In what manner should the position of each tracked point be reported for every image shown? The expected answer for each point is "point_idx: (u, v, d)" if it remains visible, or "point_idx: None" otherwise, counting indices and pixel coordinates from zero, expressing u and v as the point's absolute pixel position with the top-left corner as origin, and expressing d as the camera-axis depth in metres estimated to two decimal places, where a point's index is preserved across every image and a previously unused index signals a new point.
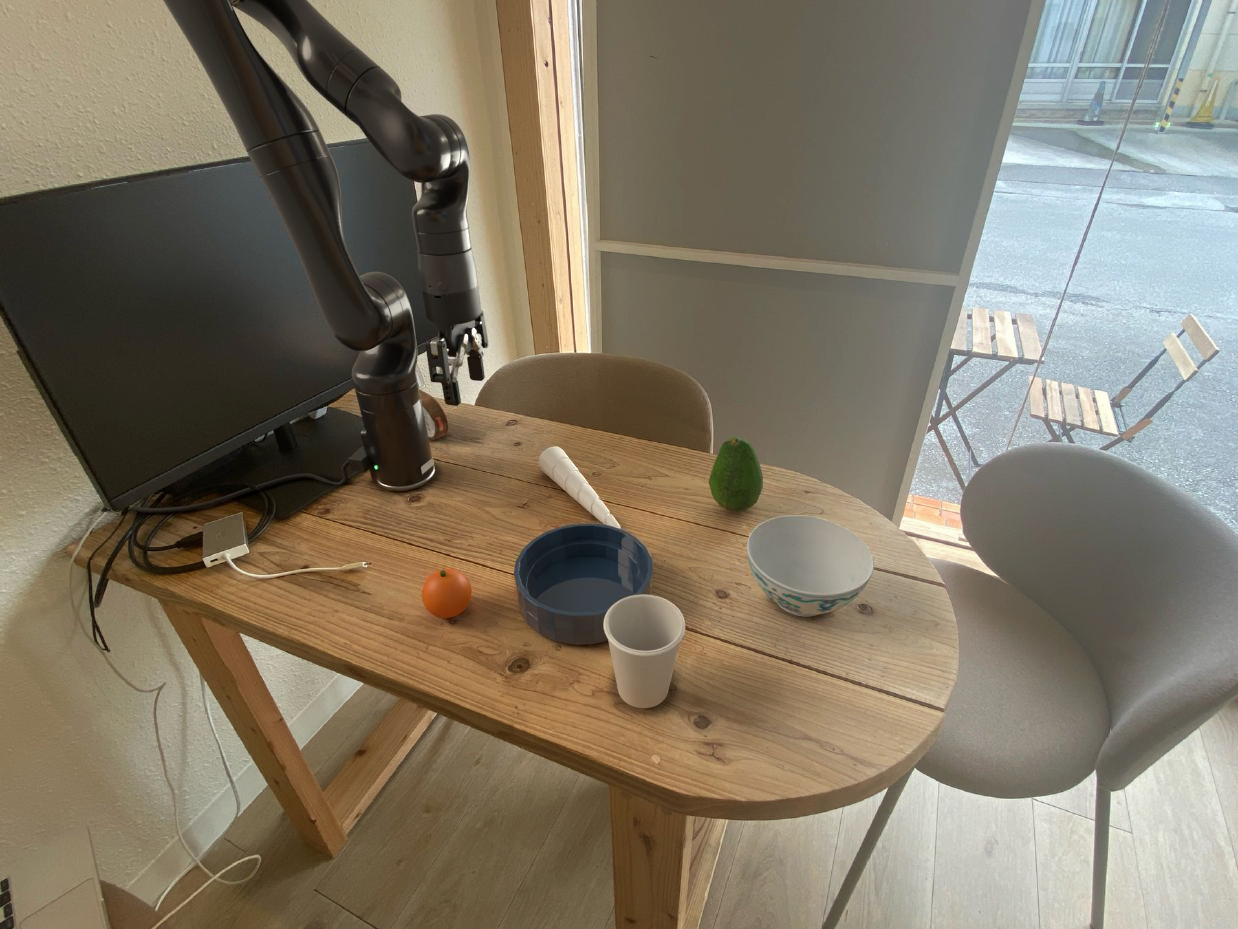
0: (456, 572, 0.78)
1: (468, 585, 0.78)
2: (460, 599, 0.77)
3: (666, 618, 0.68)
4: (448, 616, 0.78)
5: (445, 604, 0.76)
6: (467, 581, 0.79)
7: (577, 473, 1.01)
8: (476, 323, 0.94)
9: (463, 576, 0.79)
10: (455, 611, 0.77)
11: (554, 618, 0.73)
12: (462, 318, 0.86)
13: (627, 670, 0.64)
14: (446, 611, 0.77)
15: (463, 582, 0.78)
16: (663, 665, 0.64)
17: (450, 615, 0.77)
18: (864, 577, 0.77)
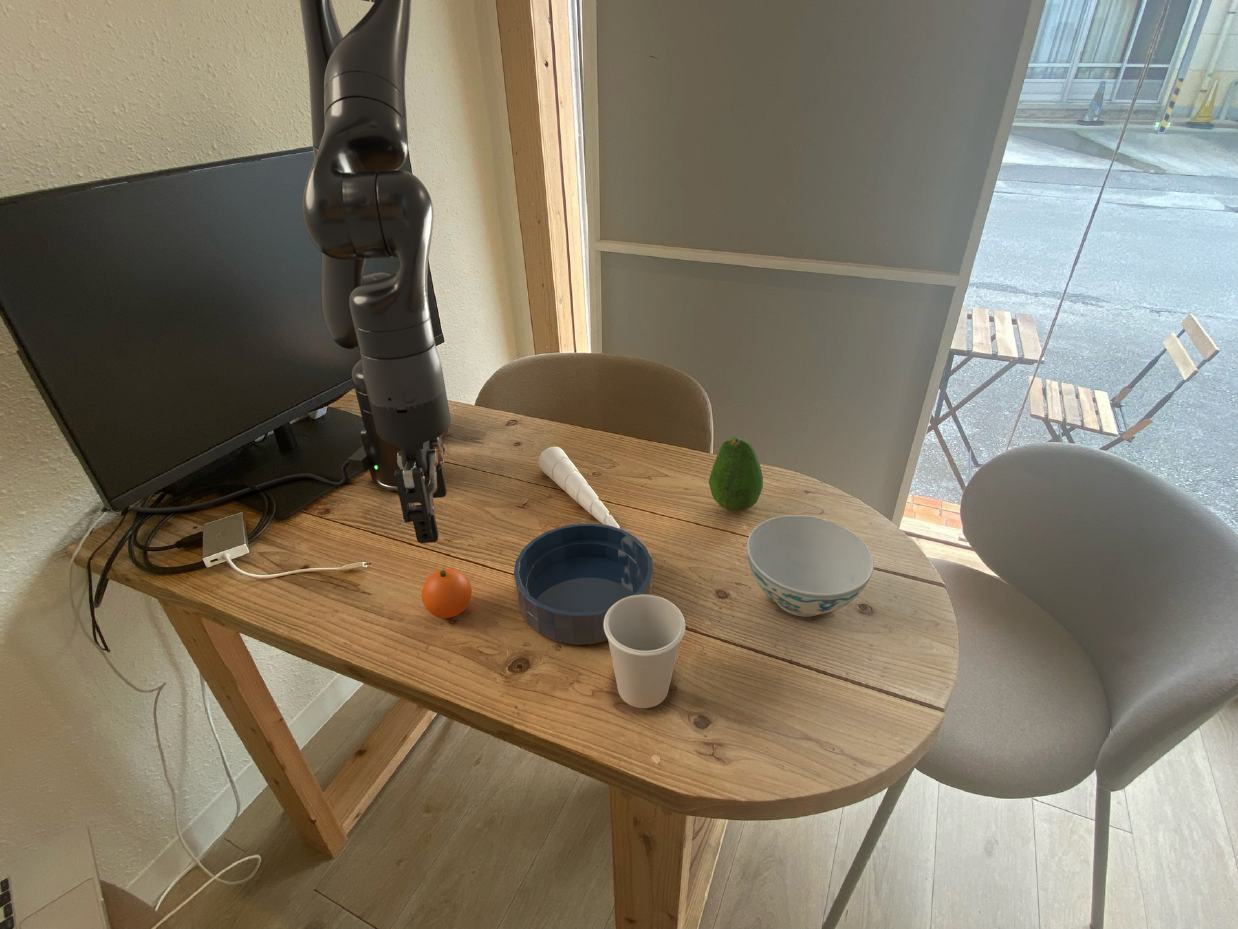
0: (456, 572, 0.78)
1: (468, 585, 0.78)
2: (460, 599, 0.77)
3: (666, 618, 0.68)
4: (448, 616, 0.78)
5: (445, 604, 0.76)
6: (467, 581, 0.79)
7: (577, 473, 1.01)
8: None
9: (463, 576, 0.79)
10: (455, 611, 0.77)
11: (554, 618, 0.73)
12: (435, 432, 0.64)
13: (627, 670, 0.64)
14: (446, 611, 0.77)
15: (463, 582, 0.78)
16: (663, 665, 0.64)
17: (450, 615, 0.77)
18: (864, 577, 0.77)
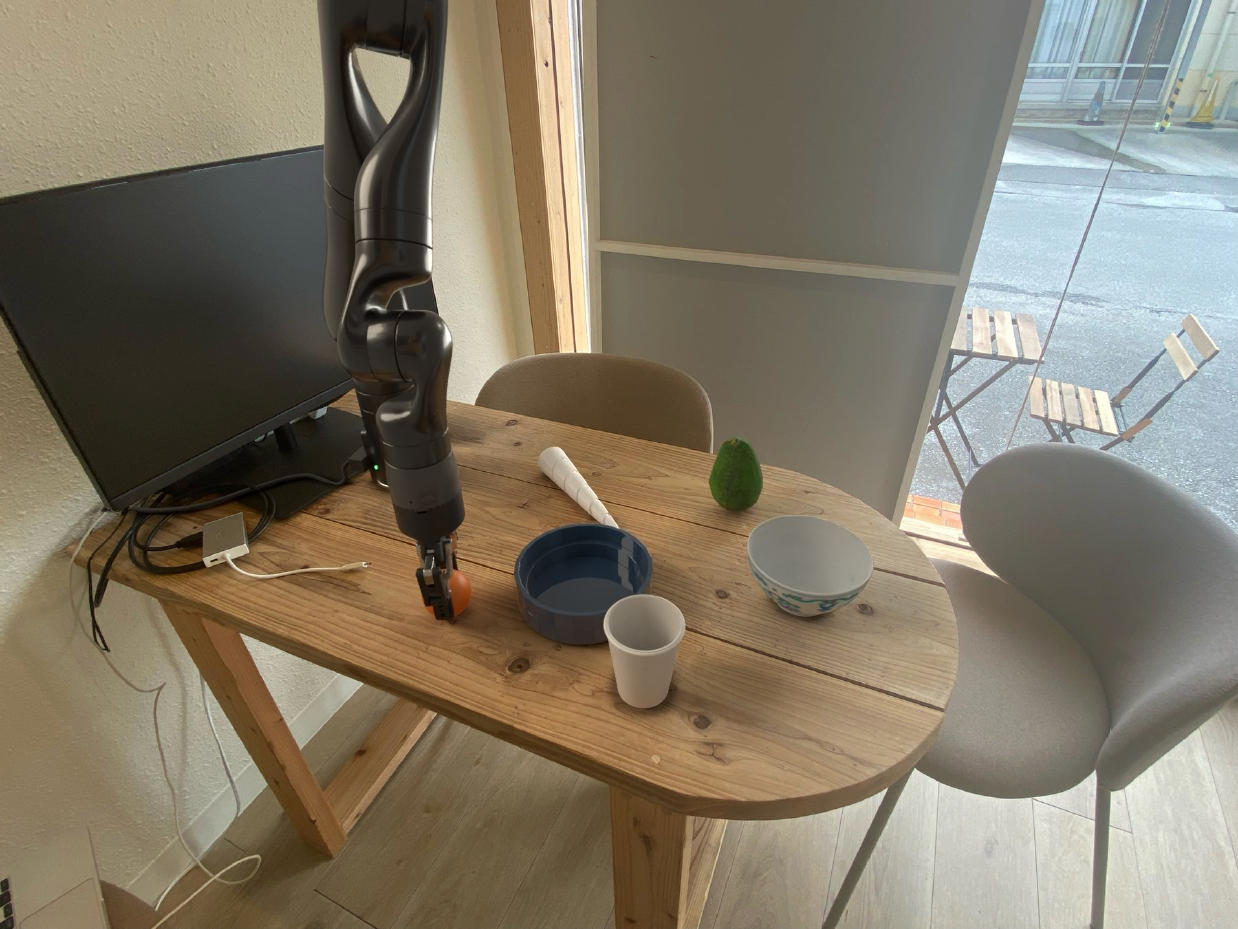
0: (456, 572, 0.78)
1: (468, 585, 0.78)
2: (460, 599, 0.77)
3: (666, 618, 0.68)
4: None
5: None
6: (467, 581, 0.79)
7: (576, 473, 1.01)
8: None
9: (463, 576, 0.79)
10: (455, 611, 0.77)
11: (554, 618, 0.73)
12: (451, 527, 0.70)
13: (627, 670, 0.64)
14: None
15: (463, 582, 0.78)
16: (663, 665, 0.64)
17: None
18: (864, 577, 0.77)
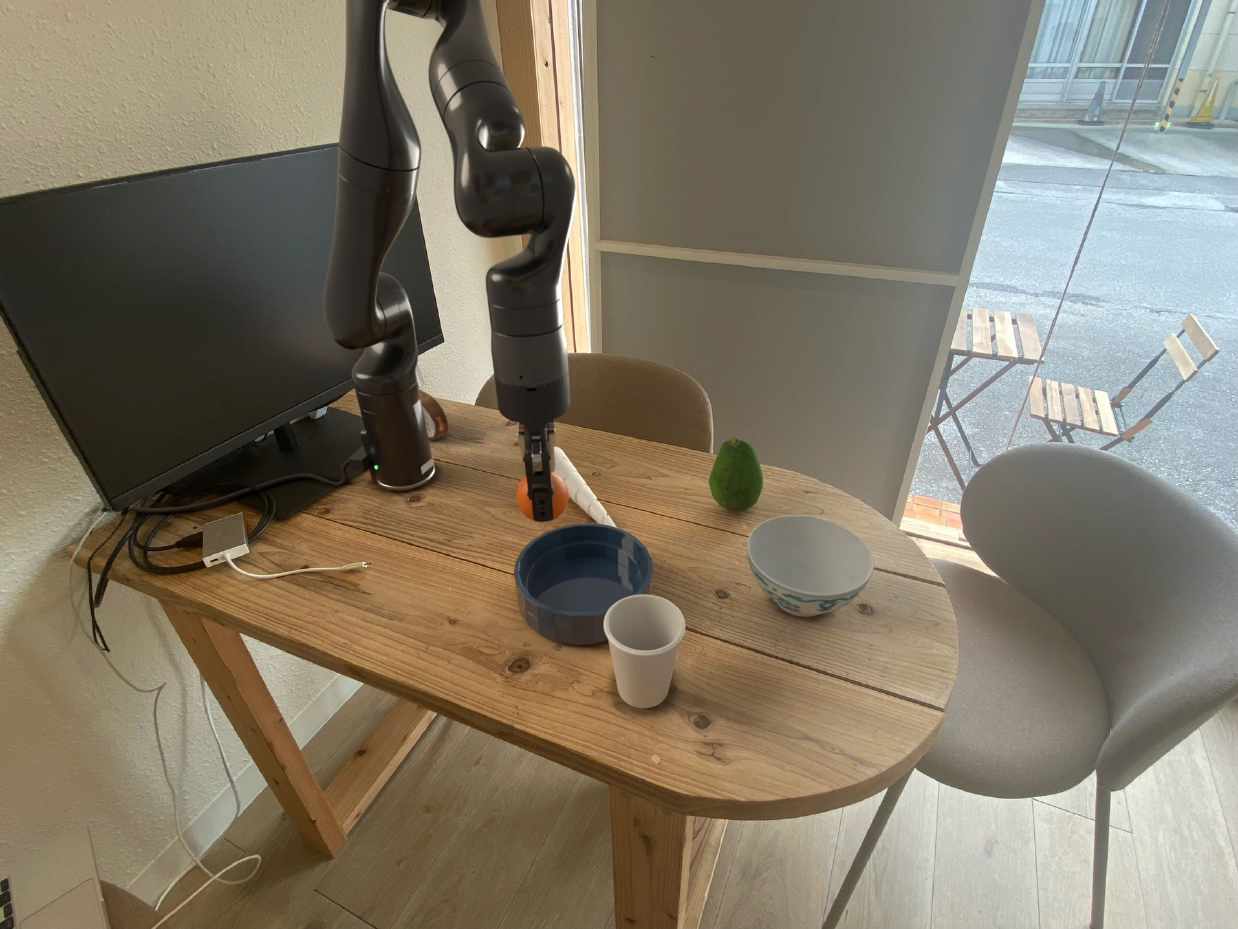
0: (553, 472, 0.72)
1: (565, 486, 0.72)
2: (559, 499, 0.71)
3: (666, 618, 0.68)
4: None
5: None
6: (564, 483, 0.73)
7: (575, 474, 1.01)
8: None
9: (560, 477, 0.73)
10: (553, 513, 0.71)
11: (554, 618, 0.73)
12: (559, 411, 0.64)
13: (627, 670, 0.64)
14: None
15: (561, 482, 0.72)
16: (663, 665, 0.64)
17: None
18: (864, 577, 0.77)
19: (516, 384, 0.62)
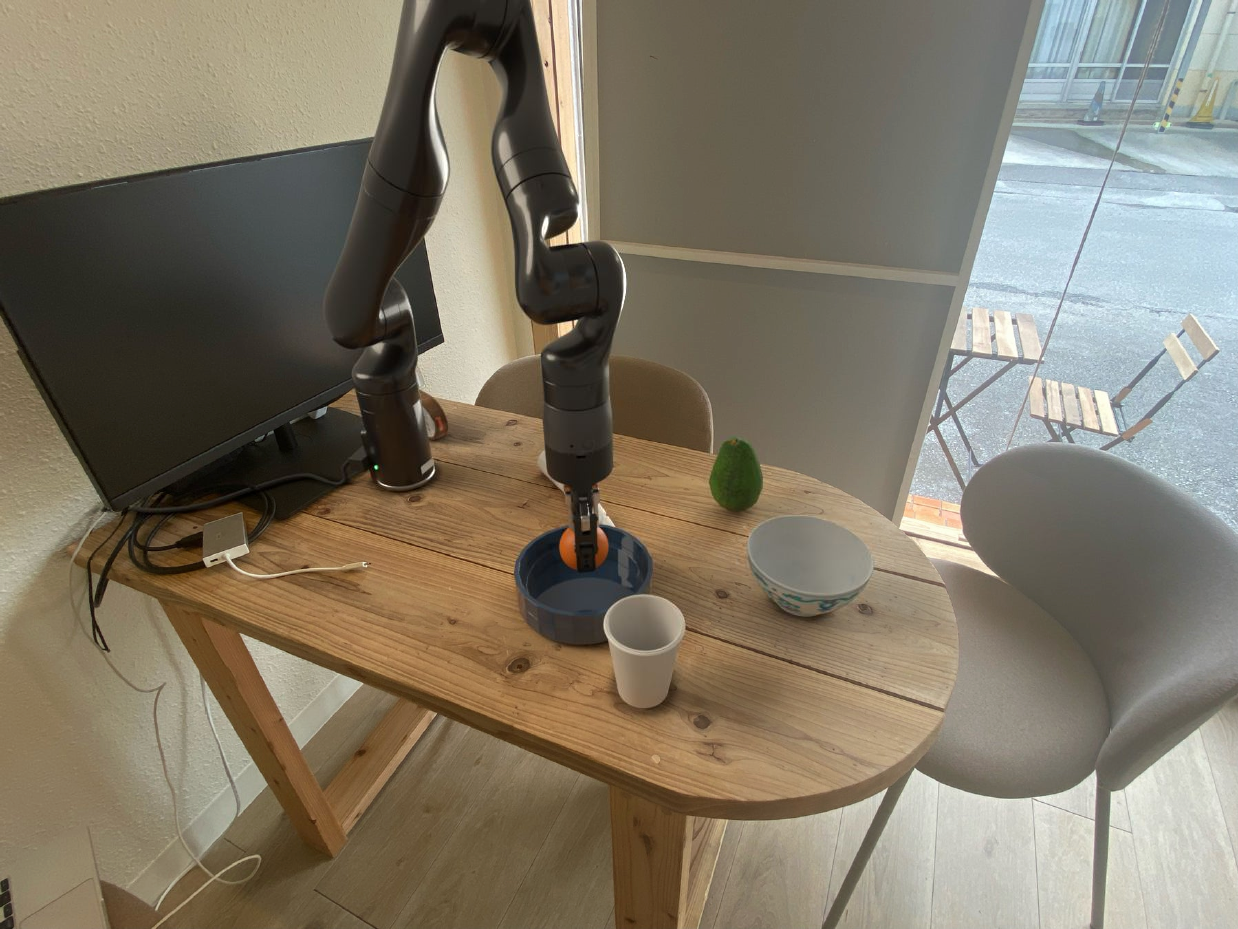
0: None
1: (606, 538, 0.77)
2: (600, 551, 0.76)
3: (666, 618, 0.68)
4: None
5: None
6: (604, 534, 0.78)
7: None
8: None
9: (600, 529, 0.78)
10: None
11: (554, 618, 0.73)
12: (605, 474, 0.69)
13: (627, 670, 0.64)
14: None
15: (602, 535, 0.77)
16: (663, 665, 0.64)
17: None
18: (864, 577, 0.77)
19: (567, 452, 0.67)
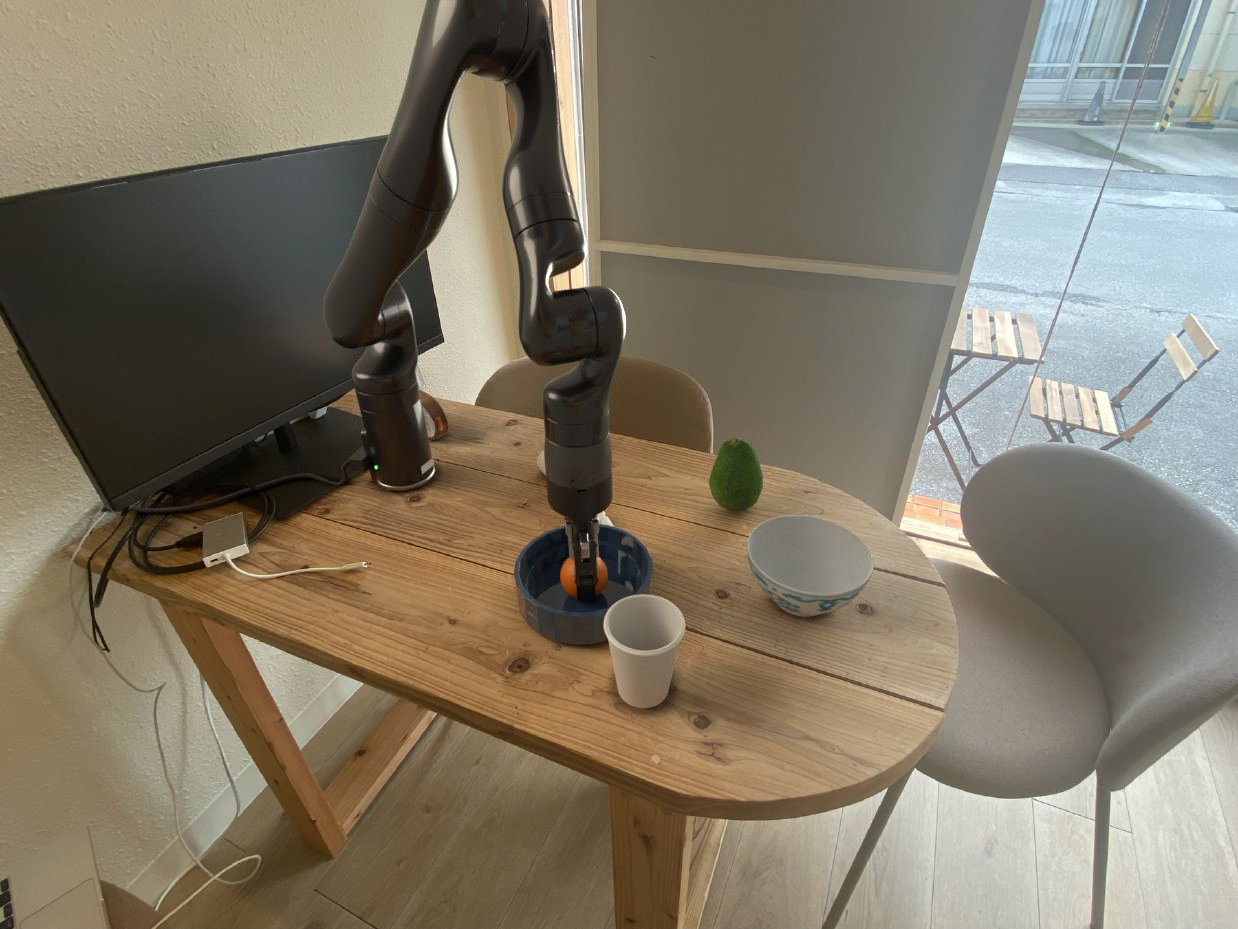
0: None
1: (605, 567, 0.80)
2: (600, 581, 0.78)
3: (666, 618, 0.68)
4: None
5: None
6: (604, 563, 0.80)
7: None
8: None
9: (600, 559, 0.80)
10: None
11: (554, 618, 0.73)
12: (604, 506, 0.72)
13: (627, 670, 0.64)
14: None
15: (601, 564, 0.79)
16: (663, 665, 0.64)
17: None
18: (864, 577, 0.77)
19: (567, 486, 0.69)
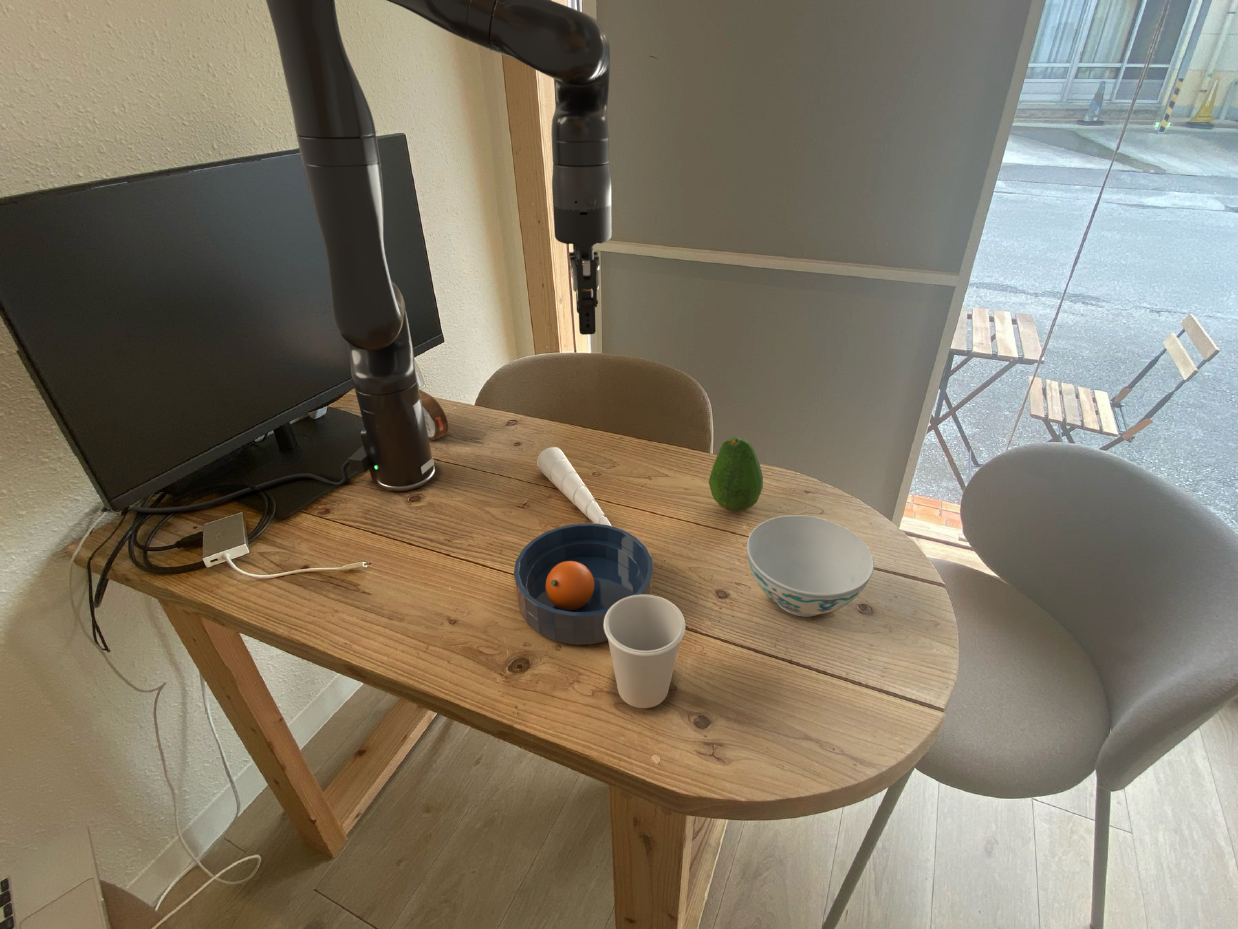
0: (565, 572, 0.77)
1: (582, 577, 0.77)
2: (582, 595, 0.76)
3: (666, 618, 0.68)
4: None
5: (573, 606, 0.77)
6: (579, 573, 0.77)
7: (574, 474, 1.01)
8: None
9: (573, 571, 0.77)
10: (585, 602, 0.78)
11: (554, 618, 0.73)
12: (604, 236, 0.82)
13: (627, 670, 0.64)
14: (578, 608, 0.78)
15: (576, 579, 0.76)
16: (663, 665, 0.64)
17: None
18: (864, 577, 0.77)
19: (572, 208, 0.79)
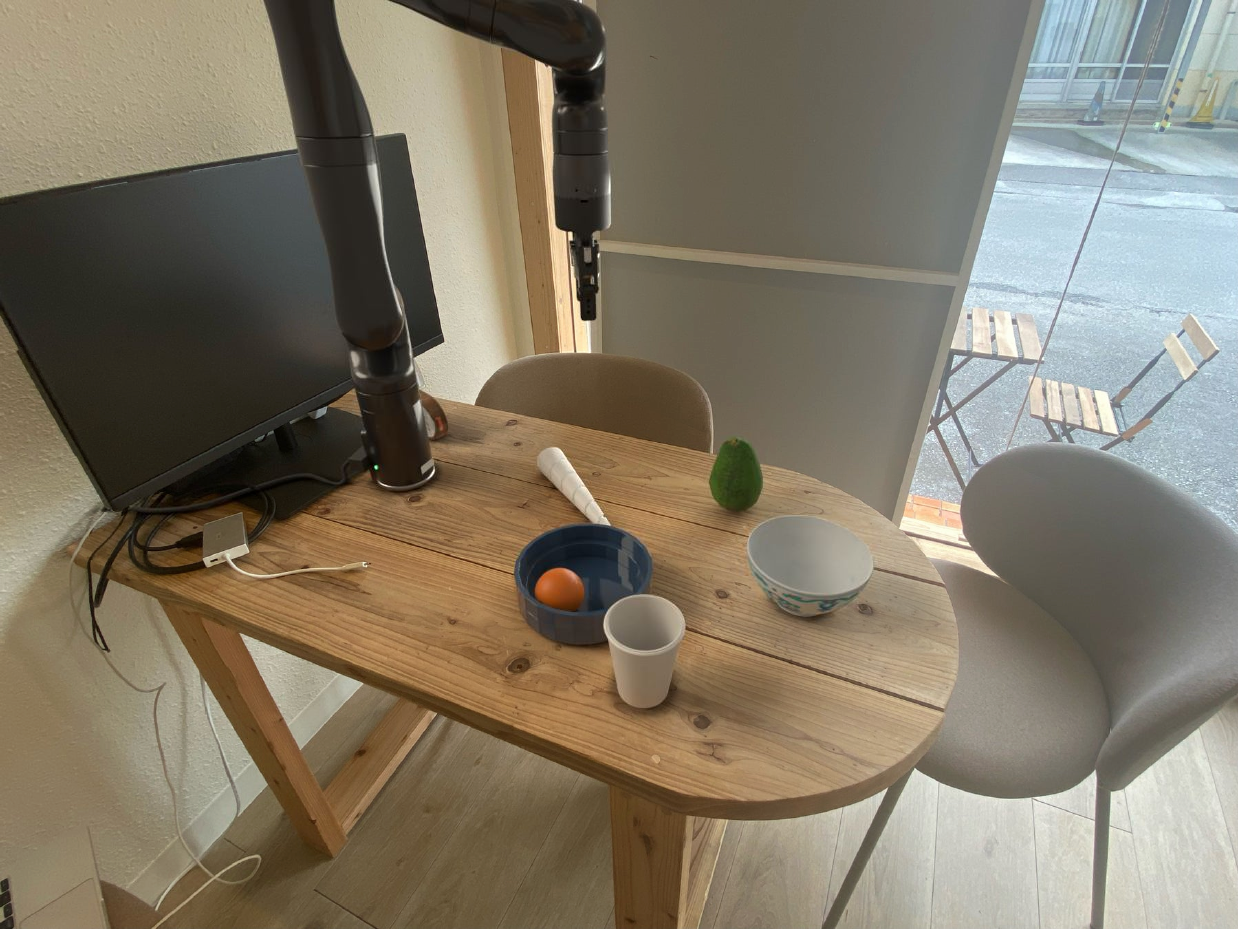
0: (545, 591, 0.75)
1: (563, 591, 0.75)
2: (570, 606, 0.75)
3: (666, 618, 0.68)
4: None
5: None
6: (560, 588, 0.75)
7: (573, 474, 1.01)
8: None
9: (553, 588, 0.75)
10: (578, 607, 0.77)
11: (554, 618, 0.73)
12: (603, 223, 0.84)
13: (627, 670, 0.64)
14: None
15: (558, 596, 0.75)
16: (663, 665, 0.64)
17: (579, 606, 0.78)
18: (864, 577, 0.77)
19: (572, 196, 0.81)
